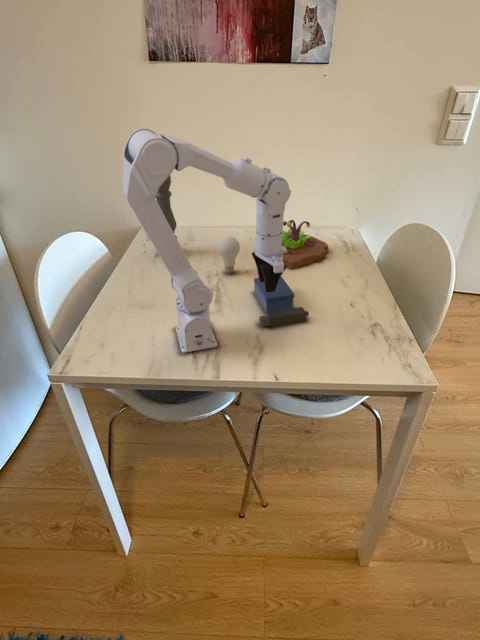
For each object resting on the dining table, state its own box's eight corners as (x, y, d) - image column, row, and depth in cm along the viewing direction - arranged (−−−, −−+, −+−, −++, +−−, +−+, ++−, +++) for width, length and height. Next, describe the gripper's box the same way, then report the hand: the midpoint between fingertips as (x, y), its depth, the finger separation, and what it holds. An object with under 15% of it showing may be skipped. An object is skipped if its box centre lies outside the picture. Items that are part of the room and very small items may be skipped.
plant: (247, 251, 129) (247, 217, 123) (289, 234, 140) (291, 202, 134) (295, 274, 117) (297, 237, 111) (336, 253, 128) (341, 219, 121)
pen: (305, 314, 101) (306, 305, 99) (309, 320, 98) (310, 311, 97) (258, 322, 98) (259, 313, 96) (262, 329, 96) (262, 320, 94)
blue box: (293, 309, 103) (294, 294, 100) (265, 314, 101) (266, 298, 98) (279, 289, 111) (280, 274, 108) (253, 293, 109) (253, 278, 106)
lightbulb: (244, 272, 119) (244, 236, 112) (229, 279, 115) (228, 243, 109) (229, 265, 122) (228, 230, 116) (214, 272, 118) (212, 237, 112)
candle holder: (183, 251, 130) (175, 170, 116) (170, 258, 126) (160, 176, 111) (168, 246, 133) (158, 167, 118) (155, 254, 129) (144, 173, 114)
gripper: (299, 242, 83) (294, 299, 90) (275, 217, 94) (273, 269, 102) (266, 246, 81) (264, 304, 89) (246, 220, 93) (246, 273, 100)
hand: (267, 285), depth 95 cm, fingers open, 4 cm apart
